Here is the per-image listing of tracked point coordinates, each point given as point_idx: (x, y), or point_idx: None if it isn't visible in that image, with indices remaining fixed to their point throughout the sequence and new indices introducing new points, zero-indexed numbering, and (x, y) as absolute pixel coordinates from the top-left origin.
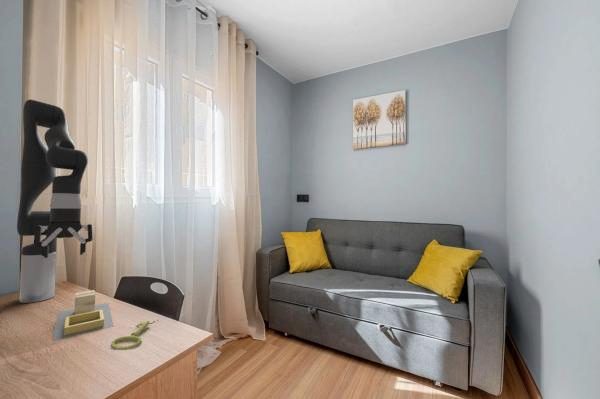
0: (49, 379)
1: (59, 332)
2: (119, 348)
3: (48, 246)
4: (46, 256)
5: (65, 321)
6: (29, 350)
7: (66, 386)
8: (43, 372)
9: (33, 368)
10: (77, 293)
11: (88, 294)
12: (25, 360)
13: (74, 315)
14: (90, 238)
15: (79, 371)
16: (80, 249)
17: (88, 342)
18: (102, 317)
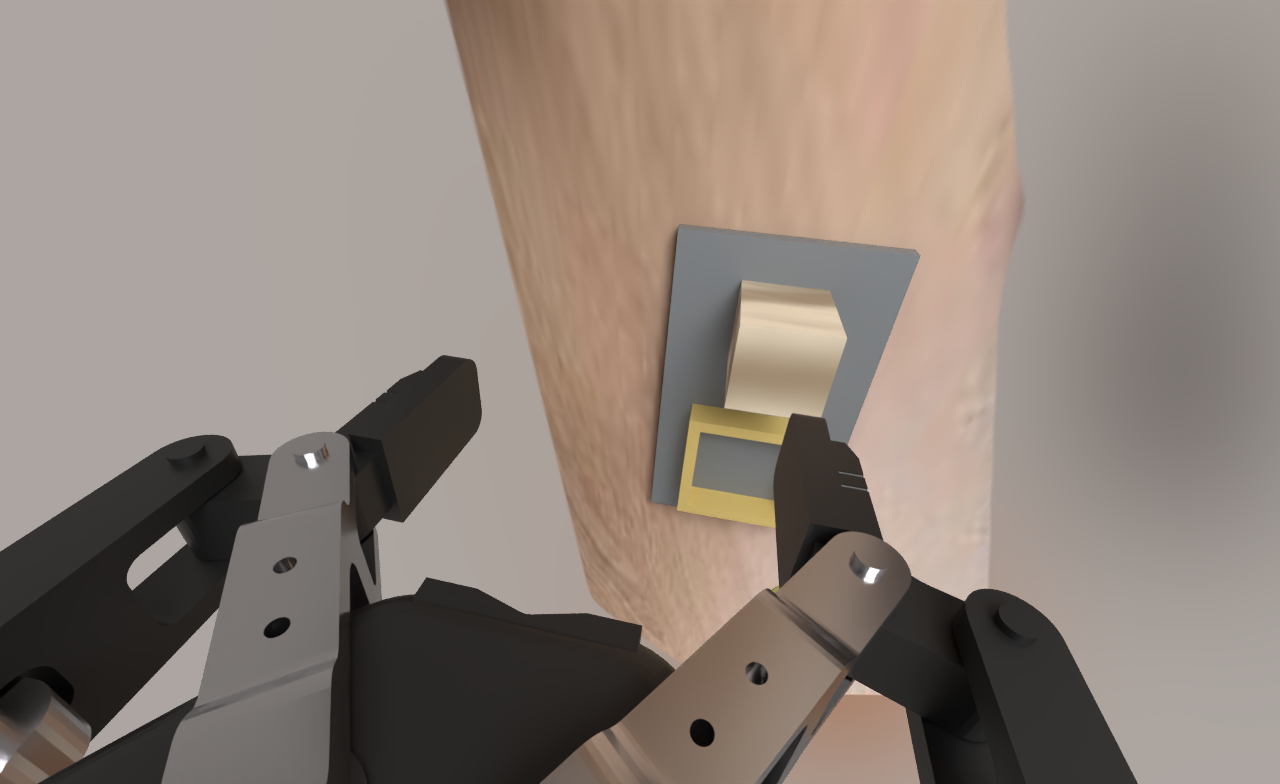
0: (648, 612)
1: (670, 462)
2: None
3: (393, 451)
4: (466, 432)
5: (684, 464)
6: (606, 485)
7: (671, 643)
8: (639, 588)
9: (622, 564)
10: (748, 336)
11: (791, 398)
12: (604, 525)
13: (717, 428)
14: (953, 740)
15: (694, 625)
16: (779, 532)
17: (732, 542)
18: None
